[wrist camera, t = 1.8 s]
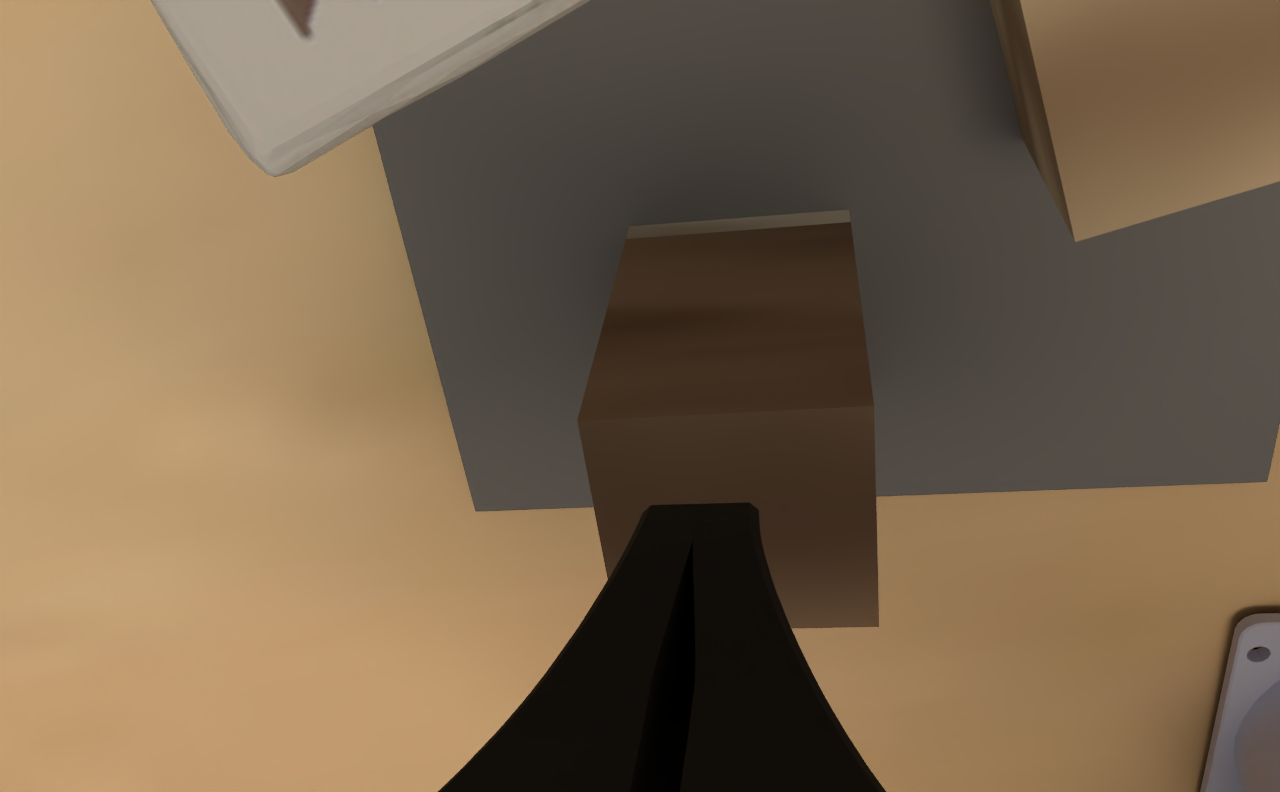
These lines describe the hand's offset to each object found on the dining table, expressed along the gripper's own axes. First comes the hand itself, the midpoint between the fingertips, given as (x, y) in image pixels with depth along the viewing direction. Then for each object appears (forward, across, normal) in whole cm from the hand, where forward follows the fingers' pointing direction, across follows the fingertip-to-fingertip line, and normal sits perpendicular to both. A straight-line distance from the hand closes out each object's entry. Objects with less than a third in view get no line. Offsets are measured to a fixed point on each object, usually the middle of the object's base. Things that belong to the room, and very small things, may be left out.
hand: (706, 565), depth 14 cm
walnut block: (+10, 0, +2) cm, 10 cm away
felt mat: (+10, -2, 0) cm, 11 cm away
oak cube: (+10, -7, -4) cm, 13 cm away
